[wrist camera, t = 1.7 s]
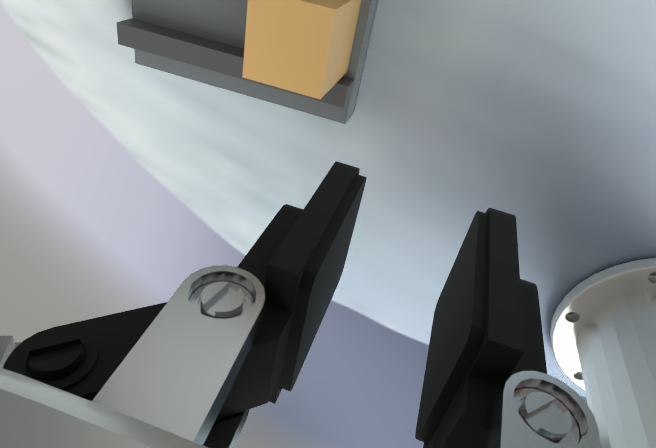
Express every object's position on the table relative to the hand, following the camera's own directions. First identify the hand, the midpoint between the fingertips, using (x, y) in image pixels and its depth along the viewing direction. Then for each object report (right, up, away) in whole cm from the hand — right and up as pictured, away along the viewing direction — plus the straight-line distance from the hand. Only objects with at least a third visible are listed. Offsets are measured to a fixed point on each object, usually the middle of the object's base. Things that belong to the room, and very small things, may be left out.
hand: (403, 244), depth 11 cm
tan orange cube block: (-2, +11, +15) cm, 19 cm away
